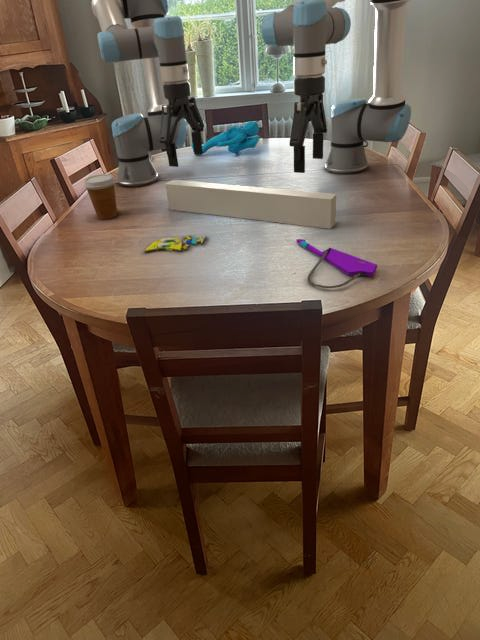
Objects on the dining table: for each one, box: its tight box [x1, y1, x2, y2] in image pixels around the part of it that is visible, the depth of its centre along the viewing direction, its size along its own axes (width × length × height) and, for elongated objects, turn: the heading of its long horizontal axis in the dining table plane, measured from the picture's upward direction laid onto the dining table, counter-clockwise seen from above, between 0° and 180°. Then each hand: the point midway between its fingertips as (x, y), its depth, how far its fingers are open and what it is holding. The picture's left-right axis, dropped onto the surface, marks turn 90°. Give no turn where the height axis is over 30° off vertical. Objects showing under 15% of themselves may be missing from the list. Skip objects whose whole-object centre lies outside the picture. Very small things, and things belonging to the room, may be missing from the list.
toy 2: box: [191, 120, 261, 156], centre depth 207 cm, size 17×11×30 cm
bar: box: [164, 179, 337, 230], centre depth 142 cm, size 54×4×8 cm, turn 62°
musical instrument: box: [295, 238, 378, 289], centre depth 112 cm, size 24×2×20 cm
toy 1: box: [144, 234, 207, 254], centre depth 130 cm, size 10×1×15 cm
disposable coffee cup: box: [83, 173, 118, 220], centre depth 151 cm, size 10×10×12 cm
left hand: (186, 160), depth 145 cm, fingers open, 13 cm apart
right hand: (308, 165), depth 127 cm, fingers open, 13 cm apart
